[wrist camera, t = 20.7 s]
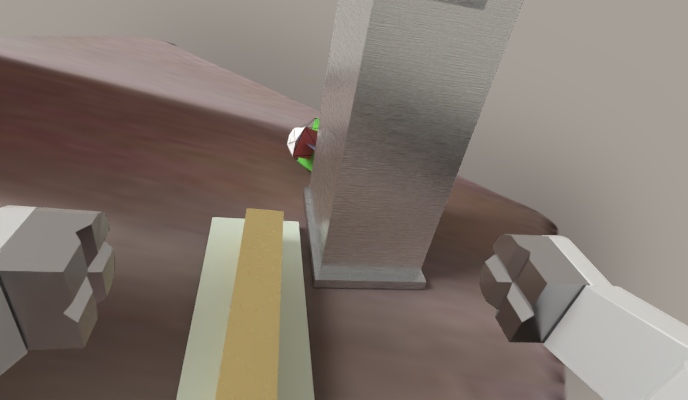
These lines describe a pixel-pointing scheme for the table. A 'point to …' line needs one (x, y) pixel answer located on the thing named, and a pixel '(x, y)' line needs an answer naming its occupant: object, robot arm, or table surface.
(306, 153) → the geometric puzzle
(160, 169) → the table surface
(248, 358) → the brass bar
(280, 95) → the table surface
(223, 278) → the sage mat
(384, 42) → the rack post
